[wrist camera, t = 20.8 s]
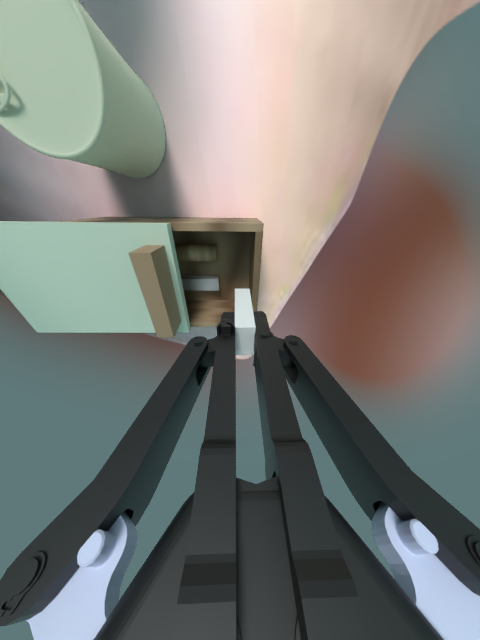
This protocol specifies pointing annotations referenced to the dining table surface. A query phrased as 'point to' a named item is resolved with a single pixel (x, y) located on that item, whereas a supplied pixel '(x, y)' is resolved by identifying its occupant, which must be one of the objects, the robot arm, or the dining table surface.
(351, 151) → the dining table surface
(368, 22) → the dining table surface
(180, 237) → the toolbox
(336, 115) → the dining table surface
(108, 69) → the can
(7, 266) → the lid
